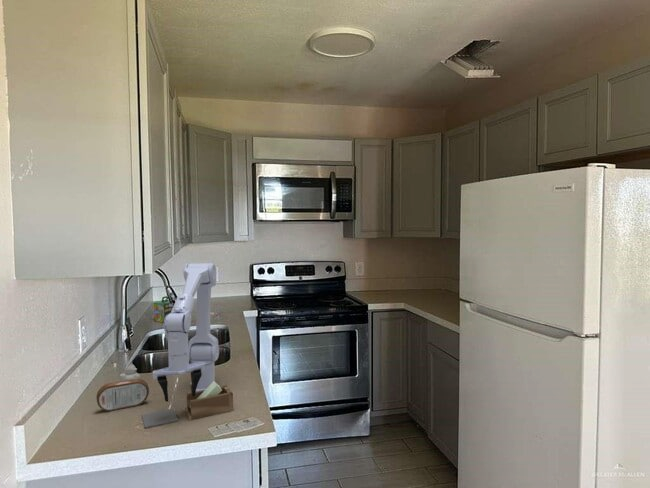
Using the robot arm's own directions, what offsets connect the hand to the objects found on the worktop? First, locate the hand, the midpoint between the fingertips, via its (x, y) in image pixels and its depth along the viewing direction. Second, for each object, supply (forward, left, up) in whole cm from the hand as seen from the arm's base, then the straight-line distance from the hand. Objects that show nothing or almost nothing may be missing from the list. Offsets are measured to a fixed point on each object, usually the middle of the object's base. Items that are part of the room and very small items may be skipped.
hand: (180, 397), depth 126 cm
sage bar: (0, +8, -3) cm, 9 cm away
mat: (-2, -6, -6) cm, 8 cm away
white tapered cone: (-37, -12, -6) cm, 39 cm away
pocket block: (0, +8, -6) cm, 10 cm away
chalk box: (-136, +13, -6) cm, 137 cm away
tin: (-16, -15, -6) cm, 23 cm away
